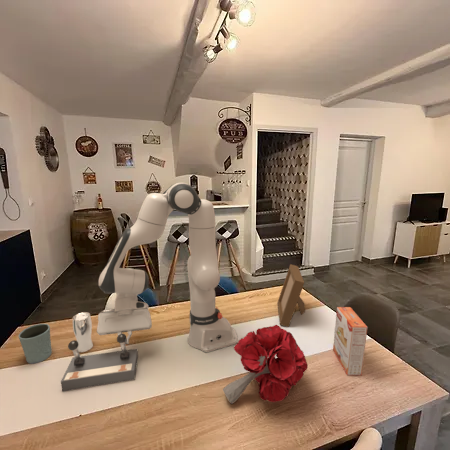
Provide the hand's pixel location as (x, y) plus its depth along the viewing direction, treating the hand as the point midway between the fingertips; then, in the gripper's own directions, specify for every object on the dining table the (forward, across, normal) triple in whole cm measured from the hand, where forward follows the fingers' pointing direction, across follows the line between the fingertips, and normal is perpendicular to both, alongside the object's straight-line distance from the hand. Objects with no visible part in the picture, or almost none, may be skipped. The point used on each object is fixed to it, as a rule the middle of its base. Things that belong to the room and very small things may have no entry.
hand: (124, 344), depth 98 cm
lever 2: (+4, 0, +4) cm, 6 cm away
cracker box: (+19, +86, -4) cm, 88 cm away
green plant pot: (-3, -36, +17) cm, 40 cm away
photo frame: (-6, +81, +22) cm, 84 cm away
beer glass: (-4, -19, +19) cm, 27 cm away
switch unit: (+8, -8, +6) cm, 13 cm away
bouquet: (+22, +48, -7) cm, 54 cm away
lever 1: (+4, -16, +4) cm, 17 cm away
